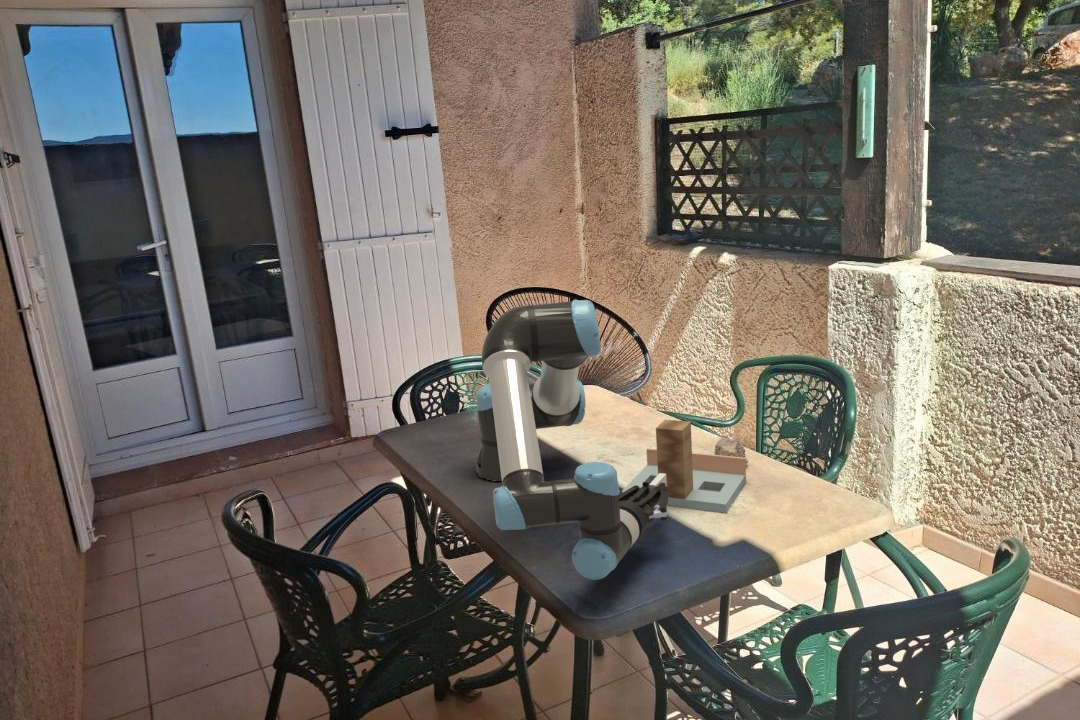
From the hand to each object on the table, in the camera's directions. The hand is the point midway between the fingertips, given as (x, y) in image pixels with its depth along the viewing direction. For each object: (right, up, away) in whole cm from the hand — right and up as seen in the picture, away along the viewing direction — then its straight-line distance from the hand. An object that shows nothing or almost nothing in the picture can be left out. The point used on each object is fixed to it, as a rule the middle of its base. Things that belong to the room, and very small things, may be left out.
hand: (663, 479), depth 174 cm
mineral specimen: (+20, -1, +27) cm, 34 cm away
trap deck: (+7, -5, +13) cm, 16 cm away
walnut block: (+4, -4, +9) cm, 10 cm away
